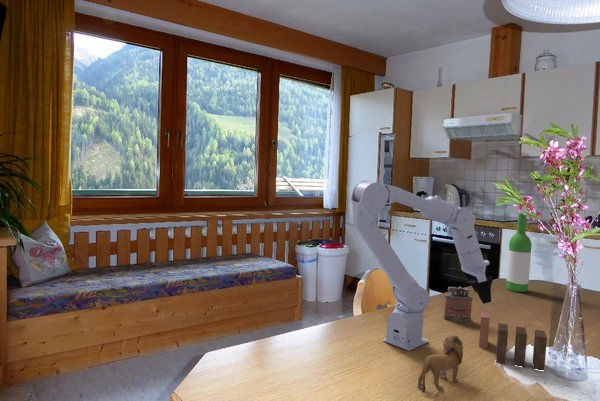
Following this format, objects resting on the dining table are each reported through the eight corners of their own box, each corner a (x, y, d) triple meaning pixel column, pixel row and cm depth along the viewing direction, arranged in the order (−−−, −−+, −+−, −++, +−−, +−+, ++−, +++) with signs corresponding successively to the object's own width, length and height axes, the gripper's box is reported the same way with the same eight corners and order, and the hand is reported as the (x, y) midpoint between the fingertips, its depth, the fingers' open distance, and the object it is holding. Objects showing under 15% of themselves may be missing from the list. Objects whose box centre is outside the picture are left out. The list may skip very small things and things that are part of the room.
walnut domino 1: (496, 362, 104) (498, 329, 103) (495, 354, 108) (498, 323, 108) (505, 364, 103) (508, 331, 102) (504, 356, 108) (507, 324, 107)
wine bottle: (513, 286, 175) (519, 212, 173) (532, 291, 169) (538, 214, 166) (501, 288, 172) (507, 212, 169) (519, 293, 165) (526, 214, 163)
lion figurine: (443, 368, 100) (446, 329, 99) (466, 376, 96) (469, 336, 95) (411, 390, 89) (414, 347, 88) (436, 400, 85) (439, 356, 85)
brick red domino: (478, 346, 113) (481, 316, 112) (479, 340, 117) (481, 311, 117) (487, 348, 112) (489, 318, 111) (487, 341, 116) (489, 312, 116)
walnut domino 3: (534, 370, 101) (537, 336, 100) (532, 361, 105) (535, 329, 105) (544, 372, 100) (547, 337, 99) (541, 363, 104) (544, 330, 104)
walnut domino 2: (514, 366, 102) (517, 332, 102) (513, 358, 107) (516, 326, 106) (524, 368, 101) (527, 334, 101) (523, 359, 106) (525, 327, 105)
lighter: (469, 318, 134) (471, 286, 134) (472, 322, 131) (474, 289, 130) (442, 316, 135) (444, 284, 134) (444, 320, 132) (447, 287, 131)
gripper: (492, 254, 108) (507, 303, 110) (476, 237, 122) (489, 282, 124) (463, 262, 109) (478, 311, 111) (451, 245, 123) (464, 288, 125)
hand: (482, 296), depth 117 cm, fingers open, 7 cm apart
